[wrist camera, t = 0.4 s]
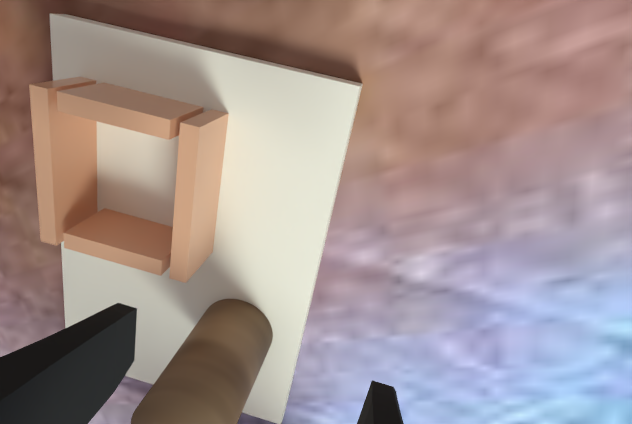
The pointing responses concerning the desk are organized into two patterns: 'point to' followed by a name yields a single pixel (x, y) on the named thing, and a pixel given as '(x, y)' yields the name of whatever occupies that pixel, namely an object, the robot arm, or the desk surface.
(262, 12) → the desk surface
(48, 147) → the square wooden frame
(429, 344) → the desk surface
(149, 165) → the off-white board
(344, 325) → the desk surface
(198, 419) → the walnut peg
